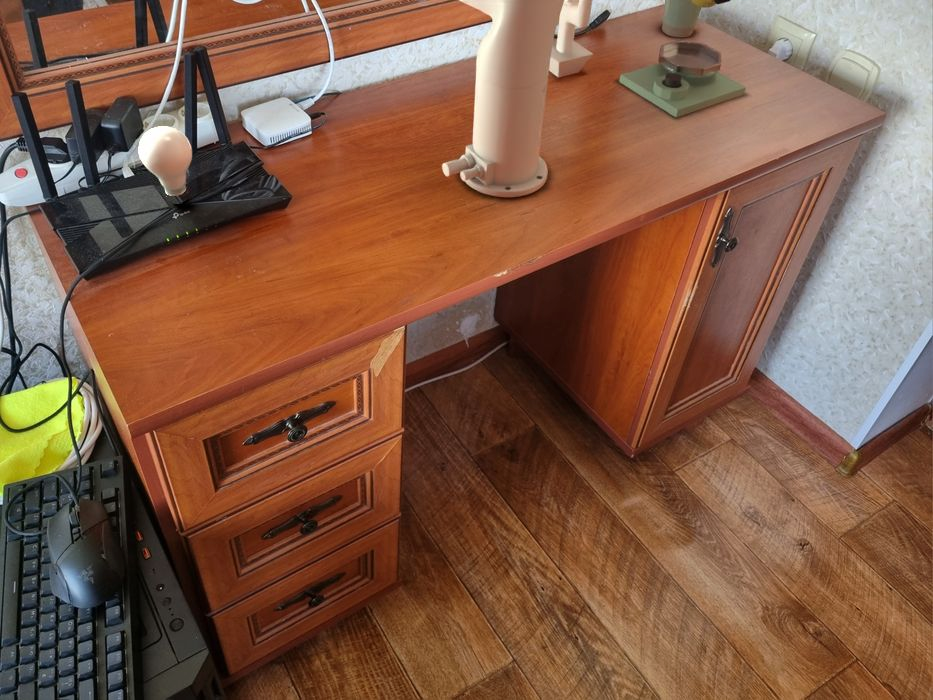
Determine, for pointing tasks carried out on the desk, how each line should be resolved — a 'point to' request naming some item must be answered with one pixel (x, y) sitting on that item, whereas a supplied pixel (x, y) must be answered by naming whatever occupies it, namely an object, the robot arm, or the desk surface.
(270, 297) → the desk surface
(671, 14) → the coffee cup
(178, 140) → the lightbulb
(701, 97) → the scale
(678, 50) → the pan
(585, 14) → the figurine
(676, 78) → the button
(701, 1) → the tennis ball
